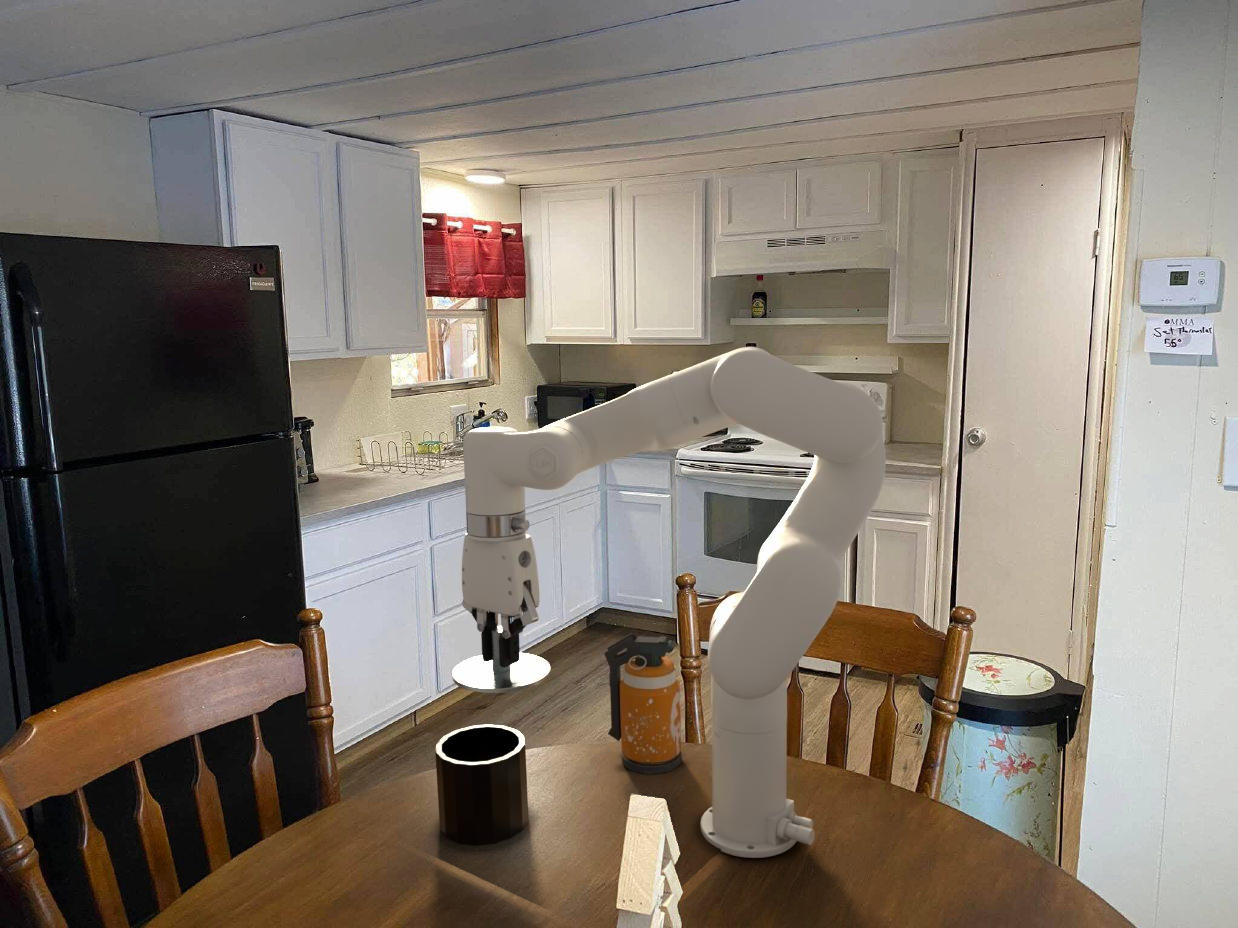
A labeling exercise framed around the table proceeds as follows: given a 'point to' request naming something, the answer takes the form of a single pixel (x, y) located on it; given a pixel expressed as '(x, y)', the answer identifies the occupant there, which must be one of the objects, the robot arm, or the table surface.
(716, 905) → the table surface
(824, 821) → the table surface
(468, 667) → the lid
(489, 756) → the dark pen holder
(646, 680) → the canister
